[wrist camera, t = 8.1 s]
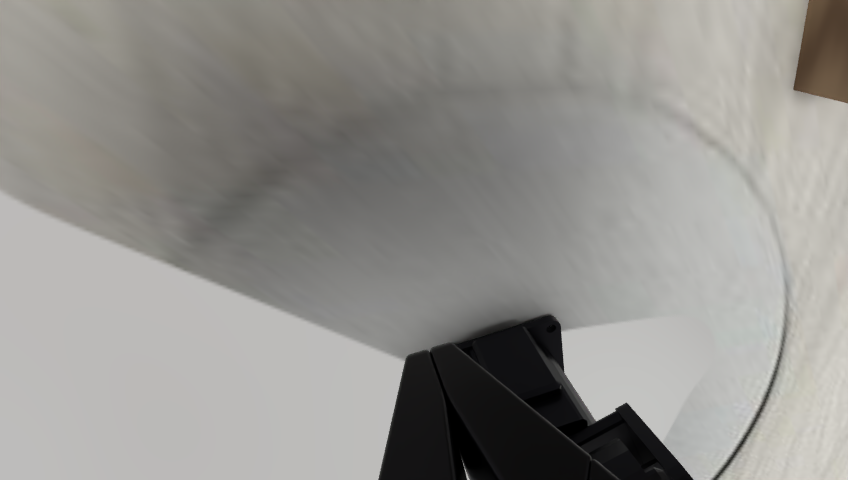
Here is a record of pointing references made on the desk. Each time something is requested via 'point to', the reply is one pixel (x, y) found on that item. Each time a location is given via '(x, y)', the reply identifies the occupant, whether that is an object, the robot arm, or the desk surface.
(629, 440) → the robot arm
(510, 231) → the desk surface
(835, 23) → the brown wooden block
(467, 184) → the desk surface
